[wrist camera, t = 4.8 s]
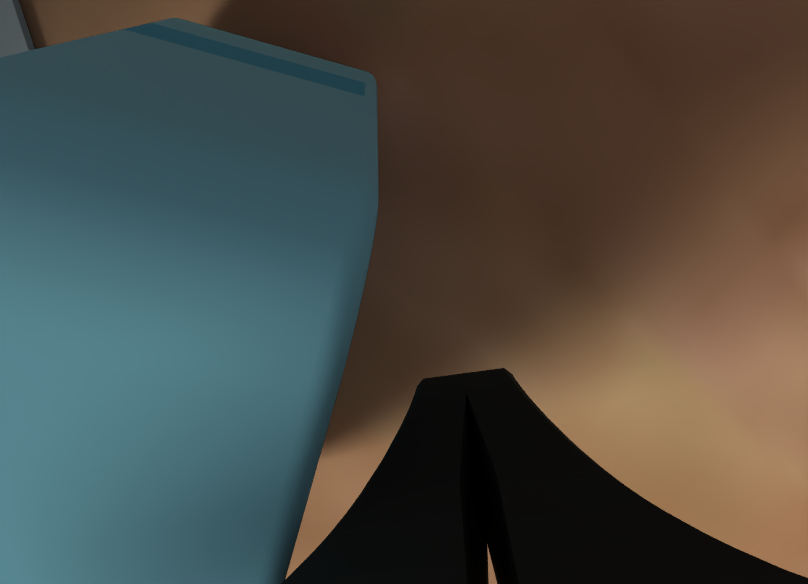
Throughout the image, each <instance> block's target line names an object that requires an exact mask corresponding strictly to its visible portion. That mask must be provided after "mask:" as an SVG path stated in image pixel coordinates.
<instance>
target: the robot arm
mask: <svg viewBox="0 0 808 584" xmlns="http://www.w3.org/2000/svg"><path fill="white" fill-rule="evenodd" d="M475 459H476V460H475ZM482 509H483V510H482ZM487 544H488V548H489V552H490V556H491V560H492V564H493V568H494V572H495V576H496V580H497V584H808V578H806V577H803V576H801V575H798V574H795V573H792V572H789V571H787V570H784V569H782V568H779V567H777V566H775V565H772V564H770V563H768V562H766V561H763V560H761V559H759V558H756V557H754V556H752V555H750V554H747V553H745V552H743V551H740V550H738V549H736V548H734V547H732V546H730V545H728V544H725V543H723V542H721V541H719V540H717V539H715V538H713V537H711V536H709V535H707V534H705V533H703V532H701V531H699V530H698V529H696V528H694V527H692V526H690V525H689V524H687V523H685V522H683V521H681V520H680V519H678V518H676V517H674V516H672V515H671V514H669V513H667V512H665V511H663V510H662V509H660V508H659V507H657V506H655V505H654V504H652V503H650V502H649V501H647V500H646V499H644V498H643V497H641V496H640V495H638V494H637V493H635V492H634V491H632V490H631V489H629V488H628V487H626V486H625V485H624V484H622V483H621V482H620V481H618V480H617V479H616V478H614V477H613V476H612V475H611V474H609V473H608V472H607V471H605V470H604V469H603V468H602V467H600V466H599V465H598V464H597V463H596V462H595V461H593V460H592V459H591V458H590V457H589V456H588V455H586V454H585V453H584V452H583V451H582V450H581V449H579V448H578V447H577V446H576V445H575V444H574V443H573V442H572V441H571V440H570V439H569V438H568V437H567V436H566V435H565V434H564V433H563V432H561V431H560V430H559V429H558V428H557V427H556V426H555V425H554V424H553V423H552V422H551V421H550V420H549V419H548V418H547V416H546V415H545V414H544V413H543V412H542V411H541V410H540V409H539V408H538V407H537V406H536V404H535V403H534V402H533V401H532V400H531V399H530V398H529V396H528V395H527V394H526V393H525V391H524V390H523V389H522V388H521V386H520V385H519V384H518V382H517V381H516V380H515V378H514V377H513V375H512V374H511V373H510V372H509V371H507V370H506V369H505V368H501V369H493V370H485V371H478V372H470V373H463V374H455V375H448V376H440V377H433V378H425V379H423V380H422V381H421V382H420V384H419V385H418V386H417V389H416V392H415V395H414V397H413V400H412V403H411V405H410V407H409V410H408V412H407V414H406V416H405V418H404V420H403V422H402V425H401V427H400V429H399V430H398V432H397V434H396V436H395V438H394V440H393V442H392V443H391V445H390V447H389V449H388V451H387V453H386V454H385V456H384V458H383V460H382V461H381V463H380V464H379V466H378V468H377V469H376V471H375V472H374V474H373V475H372V477H371V478H370V480H369V481H368V483H367V485H366V486H365V488H364V489H363V491H362V492H361V494H360V495H359V497H358V498H357V499H356V501H355V502H354V503H353V505H352V506H351V508H350V509H349V510H348V511H347V513H346V514H345V515H344V517H343V518H342V519H341V520H340V522H339V523H338V524H337V525H336V527H335V528H334V529H333V530H332V531H331V533H330V534H329V535H328V536H327V537H326V539H325V540H324V541H323V542H322V543H321V544H320V545H319V546H318V547H317V548H316V549H315V550H314V552H313V553H312V554H311V555H310V556H309V557H308V558H307V559H306V560H305V561H304V562H303V563H302V564H301V565H300V566H299V567H298V568H297V569H296V570H295V571H294V572H293V573H292V574H291V575H290V576H289V577H288V578H287V579H286V580H285V581H283V582H282V583H281V584H488V553H487Z"/></svg>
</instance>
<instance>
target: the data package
mask: <svg viewBox="0 0 808 584" xmlns="http://www.w3.org/2000/svg"><path fill="white" fill-rule="evenodd" d="M378 202H379V186H378V126H377V83H376V80H375V78H374V76H373V75H372V74H371V73H369V72H367V71H363V70H360V69H356V68H353V67H349V66H345V65H342V64H338V63H335V62H331V61H328V60H324V59H321V58H317V57H314V56H310V55H307V54H303V53H300V52H296V51H292V50H289V49H285V48H282V47H278V46H275V45H271V44H268V43H264V42H261V41H257V40H254V39H250V38H247V37H243V36H240V35H236V34H232V33H229V32H225V31H222V30H218V29H215V28H211V27H208V26H204V25H201V24H197V23H194V22H190V21H187V20H183V19H179V18H170V19H166V20H162V21H157V22H153V23H148V24H144V25H140V26H135V27H131V28H126V29H122V30H118V31H113V32H109V33H105V34H100V35H96V36H91V37H87V38H83V39H78V40H74V41H69V42H65V43H61V44H56V45H52V46H47V47H43V48H39V49H34V50H30V51H25V52H21V53H17V54H12V55H8V56H4V57H0V584H281V583H282V582H283V581H285V578H286V574H287V571H288V567H289V564H290V560H291V557H292V553H293V550H294V546H295V542H296V539H297V535H298V532H299V528H300V525H301V521H302V518H303V514H304V511H305V507H306V503H307V500H308V496H309V493H310V489H311V486H312V482H313V479H314V475H315V471H316V468H317V464H318V461H319V457H320V454H321V450H322V447H323V443H324V439H325V436H326V432H327V429H328V425H329V422H330V418H331V415H332V411H333V407H334V404H335V400H336V397H337V393H338V390H339V386H340V383H341V379H342V375H343V372H344V368H345V364H346V360H347V357H348V353H349V349H350V345H351V341H352V337H353V333H354V329H355V325H356V321H357V316H358V312H359V308H360V303H361V299H362V295H363V290H364V286H365V281H366V276H367V271H368V266H369V261H370V256H371V251H372V246H373V240H374V234H375V228H376V221H377V214H378Z"/></svg>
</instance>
